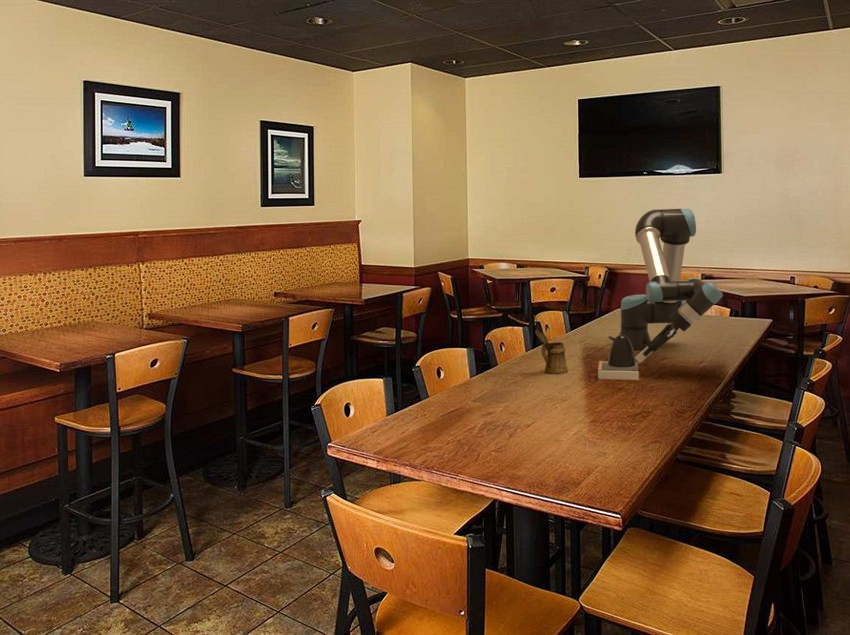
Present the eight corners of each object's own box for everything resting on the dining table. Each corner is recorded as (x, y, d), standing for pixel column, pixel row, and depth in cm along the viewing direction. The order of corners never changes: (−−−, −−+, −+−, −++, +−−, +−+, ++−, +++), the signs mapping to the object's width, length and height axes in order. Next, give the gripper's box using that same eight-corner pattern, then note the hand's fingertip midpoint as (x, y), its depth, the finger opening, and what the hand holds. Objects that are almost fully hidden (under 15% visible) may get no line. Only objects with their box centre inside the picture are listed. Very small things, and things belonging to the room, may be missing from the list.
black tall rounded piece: (614, 369, 285) (614, 331, 282) (639, 372, 278) (639, 333, 276) (603, 374, 277) (602, 335, 274) (628, 377, 270) (628, 338, 268)
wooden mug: (530, 372, 285) (529, 327, 283) (559, 367, 290) (559, 324, 288) (542, 376, 277) (541, 330, 275) (572, 372, 282) (571, 327, 280)
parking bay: (599, 369, 286) (599, 360, 285) (638, 369, 282) (638, 361, 281) (597, 378, 270) (597, 370, 270) (638, 380, 266) (638, 371, 266)
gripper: (693, 327, 260) (645, 371, 267) (690, 321, 272) (644, 363, 279) (678, 312, 260) (630, 357, 267) (676, 307, 273) (630, 350, 280)
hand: (637, 360), depth 273 cm, fingers closed
